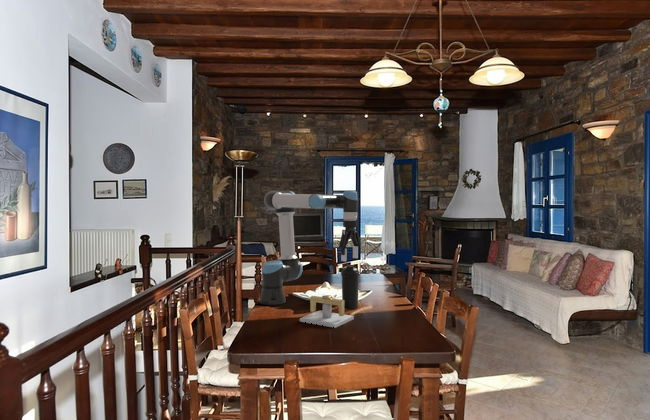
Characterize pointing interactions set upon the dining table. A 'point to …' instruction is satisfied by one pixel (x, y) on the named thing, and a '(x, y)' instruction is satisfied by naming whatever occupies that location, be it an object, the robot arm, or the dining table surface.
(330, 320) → the base
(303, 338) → the dining table surface
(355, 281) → the water bottle
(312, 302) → the yellow u-shaped block
